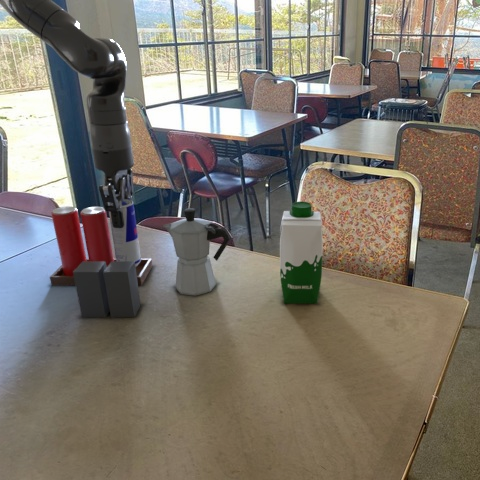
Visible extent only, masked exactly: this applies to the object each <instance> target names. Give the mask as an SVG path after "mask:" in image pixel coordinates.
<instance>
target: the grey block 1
mask: <svg viewBox="0 0 480 480" xmlns="http://www.w3.org/2000/svg"><path fill="white" fill-rule="evenodd" d="M106 268H107V265H106V261H82V262H81V264H80V265H79V266H78V267H77V268H76V269H75V270H74V271H73V275H74V280H75V285H76V286H75V290H76V295H77V299H78V304H79V305H78V306H79V309H80V314H81V318H106V317H107V316H108V314H110V309H109V303H108V297H107V292H106V286H105V280H104V274H103V272H104V270H105V269H106Z"/></svg>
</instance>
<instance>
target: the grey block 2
mask: <svg viewBox="0 0 480 480" xmlns="http://www.w3.org/2000/svg"><path fill="white" fill-rule="evenodd" d="M103 274H104V280H105V286H106V292H107V297H108V303H109V309H110V311H109V314H110V318H135V317H136V315H137V313H138V311H139V309H140V307H141V305H142V304H141V298H140V297H141V296H140V290H139V289H140V288H139V286H138V282H137V275H136V268H135V261H111V262H110V264H109V265H108V266H107V268H106V269H105V270H104V272H103Z"/></svg>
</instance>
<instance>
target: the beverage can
mask: <svg viewBox="0 0 480 480" xmlns="http://www.w3.org/2000/svg"><path fill="white" fill-rule="evenodd" d="M117 203H118V201H117ZM112 206H113V203H112ZM134 206H135V205H134V201H133V200H128V199H124V200H122V212H123V219H124V227H123V228H114V227H113V225H112V219H111V212H108V215H109V223H110V229H111V237H112V242H113V248H114V256H115V259H116V261H135V267H136V266H137V265H138V264H139V263H140V262H141V259H142V257H141V249H140V243H139V236H138V227H137V219H136V212H135V207H134Z"/></svg>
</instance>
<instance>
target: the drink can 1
mask: <svg viewBox="0 0 480 480" xmlns="http://www.w3.org/2000/svg"><path fill="white" fill-rule="evenodd" d="M50 215H51V218H52V223H53V228H54V233H55V239H56V243H57V248H58V252H59V258H60V262H61V265H62V267H63V272H64V276H74V275H73V271H74V270H75V269H76V268H77V267H78V266H79V265H80V264H81V262H82V261H87V259H88V258H87V254H86V249H85V244H84V239H83V234H82V228H81V223H80V222H81V221H80V217H79V212H78V209H77V208H76V207H75V206H69V205H67V206H60V207H56V208H54V209H53V210H52V211H50Z"/></svg>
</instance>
